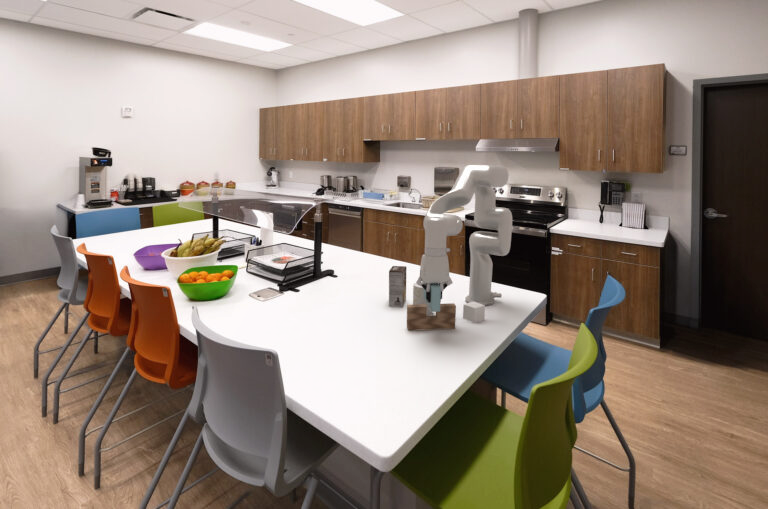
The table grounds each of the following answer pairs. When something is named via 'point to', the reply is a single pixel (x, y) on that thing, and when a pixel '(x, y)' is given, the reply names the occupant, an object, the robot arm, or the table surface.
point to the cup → (420, 297)
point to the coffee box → (397, 286)
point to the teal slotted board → (434, 297)
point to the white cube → (473, 311)
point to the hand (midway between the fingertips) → (433, 300)
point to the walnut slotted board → (431, 317)
